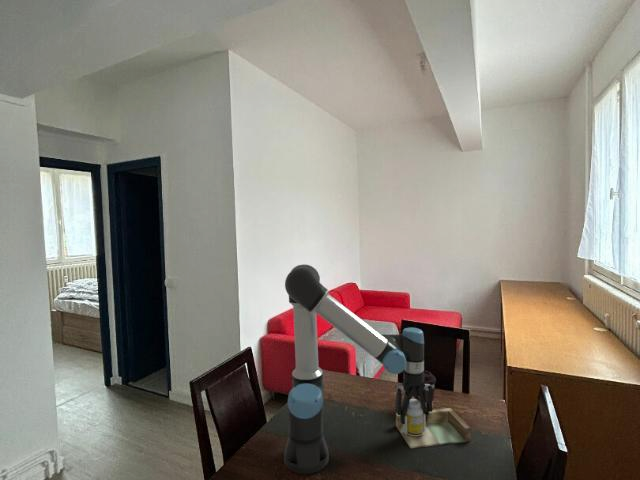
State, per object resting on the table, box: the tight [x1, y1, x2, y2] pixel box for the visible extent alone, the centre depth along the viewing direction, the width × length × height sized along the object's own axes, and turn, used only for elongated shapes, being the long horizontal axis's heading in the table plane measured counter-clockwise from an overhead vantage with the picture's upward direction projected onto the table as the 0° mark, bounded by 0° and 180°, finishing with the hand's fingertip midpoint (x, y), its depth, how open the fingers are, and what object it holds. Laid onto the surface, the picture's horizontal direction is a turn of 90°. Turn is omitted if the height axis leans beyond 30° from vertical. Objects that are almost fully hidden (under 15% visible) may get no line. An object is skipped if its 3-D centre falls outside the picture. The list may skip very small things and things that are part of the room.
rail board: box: [395, 407, 472, 449], centre depth 129 cm, size 23×14×5 cm, turn 99°
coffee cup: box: [413, 370, 437, 409], centre depth 148 cm, size 10×10×15 cm
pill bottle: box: [406, 398, 423, 436], centre depth 128 cm, size 6×6×12 cm
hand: (414, 430), depth 128 cm, fingers closed on pill bottle, 6 cm apart
